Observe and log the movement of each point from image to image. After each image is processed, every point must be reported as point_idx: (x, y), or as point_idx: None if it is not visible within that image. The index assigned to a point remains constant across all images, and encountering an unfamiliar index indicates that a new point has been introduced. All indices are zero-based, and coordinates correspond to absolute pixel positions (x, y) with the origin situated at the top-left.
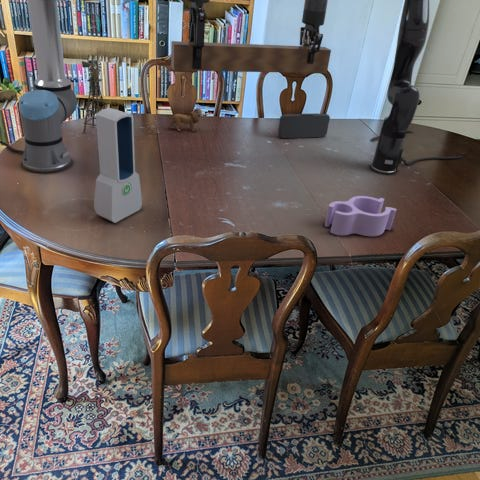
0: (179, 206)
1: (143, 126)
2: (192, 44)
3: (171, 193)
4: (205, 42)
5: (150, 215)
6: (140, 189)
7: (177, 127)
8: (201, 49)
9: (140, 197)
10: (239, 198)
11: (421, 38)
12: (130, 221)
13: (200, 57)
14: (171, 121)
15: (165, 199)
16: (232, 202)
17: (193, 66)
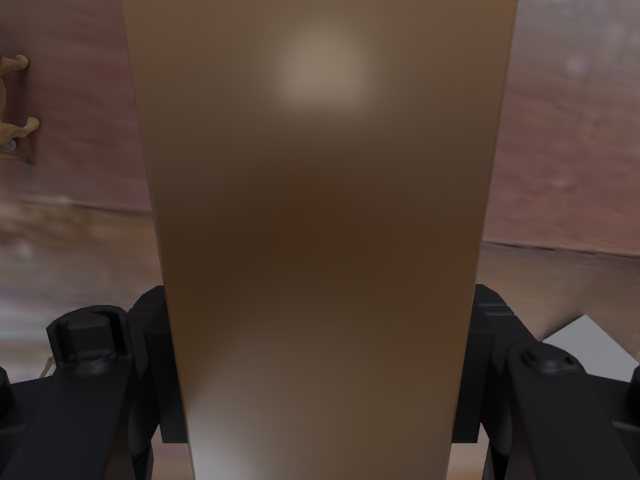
0: (599, 225)
1: (11, 242)
2: (404, 473)
3: (523, 232)
4: (157, 217)
5: (614, 295)
6: (614, 341)
7: (27, 131)
8: (485, 325)
9: (601, 329)
10: (620, 36)
11: None
12: (622, 335)
13: (497, 293)
14: (1, 155)
15: (551, 252)
16: (634, 69)
17: None
